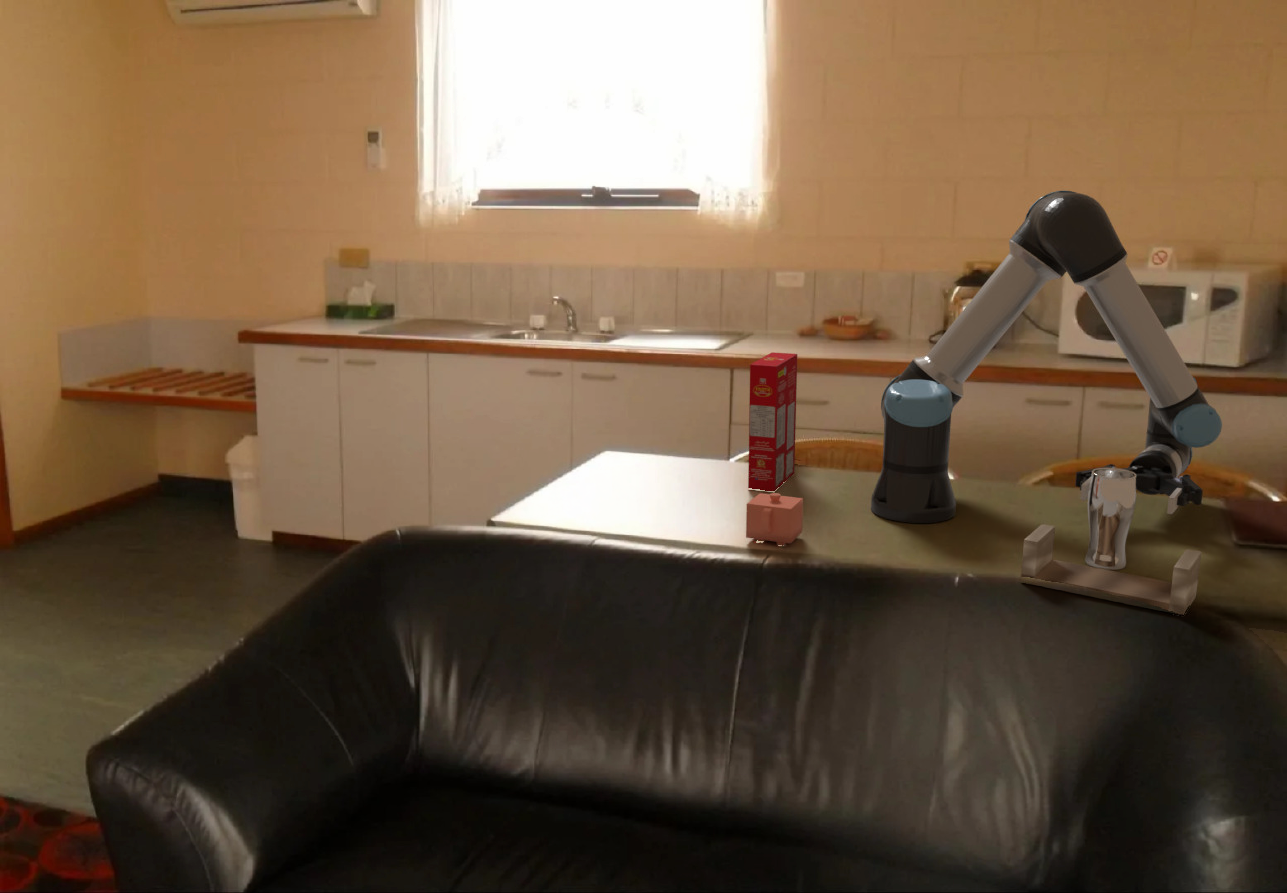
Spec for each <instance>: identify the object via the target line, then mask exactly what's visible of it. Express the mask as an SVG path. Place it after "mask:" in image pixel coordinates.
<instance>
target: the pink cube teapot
mask: <svg viewBox="0 0 1287 893" xmlns="http://www.w3.org/2000/svg"><path fill="white" fill-rule="evenodd" d="M803 511H804V498H803V497H794V496H786V495H781V494H780V493H778V492H775V493H770V494H769V493H763V492H760V493H758V494H757V495H756V496H754V497H753V498H752V499H750V500H749V502H747V503H746V516H745V517H746V519H745V521H746V524H745V525H746V526H745V530H746V531H745V538H747V539H753V540H758V541H764V540H765V541H768V542H775V543H776V545H777V544H778V545H782V546H783V545H787V544H792V543H793V542H794V541H795V540H796V539H797V538H798V536H800V535H801V534H802V533H803V520H804V519H803V514H804V512H803ZM765 541H764V542H765Z"/></svg>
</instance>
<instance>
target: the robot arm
mask: <svg viewBox="0 0 1287 893" xmlns="http://www.w3.org/2000/svg"><path fill="white" fill-rule="evenodd" d="M1008 245H1009V252H1008V254H1007V255H1006V257H1005V258H1004V259H1003V260H1002V261H1001V263H1000V264H999V265H998V266H997V268H996V269H995V270H994V271H993V273H992V274H991V275H990V276H989V277H988V278H987V280H986V282H984V284H983V285H982V286H981V287H980V288H979V290H978V291H977V293H976V294H975V295H974V296H973V297H972V299H971V300H970V302H968V303H967V305H966V306H965V307H964V309H963V310H962V311H961V312H960V313H959V315H958V316H957V317H956V319H955V320H954V321H953V323H951V325H950V326H949V327H948V328H947V330H946V331H945V332H944V334H943V335H942V336H941V337H940V338H939V339H938V341H937V342H936V343H935V345H934V346H933V347H932V348H931V350H930V351H929V352H928V353H927V355H925V356H919V357H914V358H913V359H912V360H911V361H910V363H909V364H908V365H907V367H906V368H905V369H904V370H903V371H902V373H901V374H899V375H898V376H896V377H895V378H893V379H892V380H891V381H890V382H888V384H887V385H886V387H885V389H884V391H883V393H882V395H881V396H882V397H881V403H880V410H881V415H882V418H883V424H884V425H883V445H882V446H883V451H882V468H881V471H880V475H879V477H878V479H877V482H876V484H875V487H874V490H873V493H872V494H871V498H870V499H871V500H870V510H871V512H872V513H873V514H875V515H877V516H879V517H882V518H883V519H887V520H891V521H896V522H902V523H912V524H932V523H939V522H940V523H941V522H945V521H947V520H950V519H953V517H955V516H956V508H957V500H956V498H955V494H954V491H953V487H952V482H951V480H950V474H949V461H950V460H949V458H950V457H949V456H950V442H951V426H952V425H951V424H952V420H951V419H952V412H953V409H954V408H955V406H956V405H957V404H958V403H959V402H960V401H961V399H962V398H963V397H964V383H965V382H966V380H967V379H968V378H969V377H970V376H971V375H972V373H973V372H974V371H975V370H976V369H977V367H978V366H979V364H980V363H982V361H983V360H984V359H985V358H986V356H987V355H988V354H989V353H990V351H991V350H992V349H993V348H994V347H995V345H996V344H997V343H998V342H999V341H1000V339H1001V338H1002V337H1003V336H1004V335H1005V333H1006V332H1007V331H1008V330H1009V329H1010V328H1011V326H1012V325H1013V324H1014V323H1015V321H1016V320H1017V319H1018V318H1019V317H1020V315H1021V314H1022V313H1023V312H1024V310H1025V309H1026V308H1027V307H1028V306H1029V304H1030V303H1031V302H1032V301H1033V299H1034V298H1035V297H1036V296H1037V294H1039V292H1040V291H1042V288H1044V286H1045V285H1046V283H1047V282H1049V281H1052V280H1053V281H1054V280H1059V279H1062V277H1063V276H1064V275H1065V274H1066V273H1067V274H1068V275H1069V277H1070V279H1071V280H1072V282H1073V284H1074V285H1076V286H1081V287H1082V288H1084V290H1085V292H1086V293H1087V295H1088V297H1089V299H1090V300H1091V302H1092V303H1093V305H1094V307H1095V308H1096V310H1097V312H1098V313H1099V316H1101V319H1103V321H1104V323H1105V325H1106V326H1107V328H1108V329H1109V331H1110V333H1111V335H1112V336H1113V338H1114V339H1115V342H1116V343H1117V345H1118V346H1119V348H1120V350H1121V351H1122V353H1123V355H1124V357H1125V358H1126V360H1127V361H1128V364H1129V365H1130V366H1131V368H1132V370H1133V371H1134V374H1136V377H1137V378H1138V379H1139V381H1140V383H1141V385H1142V387H1143V389H1144V390H1145V391H1146V393H1147V394H1148V396H1149V405H1148V416H1147V417H1148V418H1147V428H1146V436H1145V444H1144V445H1145V448H1144V450H1143V451H1141V452H1140V453H1139V454H1138V455H1137V456H1136V457H1135V458H1133V460H1132V461H1131V462H1130V463H1129V466H1128V467H1124V468H1120V469H1124V470H1128V471H1132V472H1134V473H1135V474H1136V475H1137V480H1136V491H1137V492H1139V493H1141V494H1145V495H1149V496H1154V495H1166V496H1167V497H1168V501H1167V509H1166V510H1167V511H1166V514H1168V515H1173V513H1174V512H1175V511H1177V509H1178V508H1179V506H1181V507H1185V506H1186V505H1188V504H1190V502H1191V503H1192V504H1194V505H1196V506H1201V505H1202V502H1203V493H1204V490H1203V488H1201V487H1200V486H1199V485H1198V484H1197V483H1196V482H1195V481H1194V480H1192V479H1191V475H1190V474H1183V473H1185V471H1187V469H1188V467H1189V466H1190V465H1191V462H1192V459H1193V455H1194V454H1193V448H1197V449H1198V448H1199V449H1200V448H1203V447H1208V446H1210V445H1212V443H1214V442H1215V441H1216V440H1217V439H1218V438H1219V436H1220V435H1221V432H1222V428H1223V421H1222V419H1221V417H1220V415H1219V413H1218V412H1217V410H1216V409H1215V408H1214V407H1212V405H1210V404H1209V402H1208V401H1207V399H1206V397H1205V396H1204V394H1203V392H1202V390H1200V388H1199V386H1198V383H1197V379H1196V378H1195V377H1193V375H1192V374H1191V372H1190V370H1189V369H1188V367H1187V364H1186V363H1185V362H1184V360H1183V358H1182V357H1181V355H1180V353H1179V352H1178V350H1177V348H1176V347H1175V345H1174V343H1173V341H1172V340H1171V337H1170V336H1169V335H1168V333H1167V331H1166V330H1165V328H1164V326H1163V325H1162V322H1161V320H1160V319H1159V317H1158V316H1157V314H1156V313H1155V310H1154V309H1153V308H1152V305H1151V304H1150V302H1149V300H1148V299H1147V297H1146V296H1145V294H1144V292H1143V291H1142V288H1141V287H1140V286H1139V284H1138V282H1137V280H1136V279H1135V277H1134V275H1133V274H1132V272H1131V271H1130V269H1129V267H1128V265H1127V264H1126V263H1127V262H1126V261H1127V259H1128V258H1127V257H1128V254H1129V253H1128V251H1126V249H1125V247H1124V246H1123V243H1122V242H1121V240H1120V238H1119V236H1118V233H1117V232H1116V230H1115V228H1114V226H1113V224H1112V221H1111V220H1110V217H1109V215H1108V214H1107V211H1106V210H1105V209H1104V207H1103V206H1102V205H1101V203H1100V202H1099V201H1098V200H1096V199H1095V198H1093V197H1092V196H1090V195H1088V194H1084V193H1080V192H1076V191H1071V190H1057V191H1052V192H1049V193H1047V194H1044V195H1043V196H1041V197H1040V198H1039V199H1037V200H1036V201H1035V202H1033V204H1031V206H1030V208H1029V209H1028V210H1027V213H1026V214H1025V218H1024V221H1023V222H1022V223H1021V225H1020V226H1019V227H1018V229H1017V230H1016V231H1015V233H1013V235H1012V236H1011V238H1009V240H1008ZM1097 468H1098V467H1096V468H1090V469H1086V470H1082V471H1076V473H1075V484H1074V485H1075V487H1076V488H1079V491H1080V501H1083V502H1084V501H1086V500H1088V493H1089V486H1090V481H1091V476H1092V471H1093V470H1094V469H1097ZM1099 468H1117V467H1116V465H1115V464H1113V463H1110V464H1107V465H1104V466H1101V467H1099ZM1181 474H1183V475H1181ZM1180 475H1181V476H1180Z"/></svg>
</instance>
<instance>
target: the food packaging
mask: <svg viewBox="0 0 1287 893" xmlns="http://www.w3.org/2000/svg"><path fill="white" fill-rule="evenodd" d="M797 378H798V353H788V352H787V353H786V352H770V353H768V354H767V355H765V356H763V357H761V358H759V359H758V360H756V361H754V362H752V363H750V364H749V403H748V404H749V405H748V406H749V414H748V416H749V419H748V420H749V423H748V476H747V477H748V482H747V483H748V486H747V488H752V489H760V490H765V491H775V490H776V489H777V488H778V487H780V486H781V485H782V484H783V482H785V481H786V480H787V479H788V478H789V477H791V476H792V475H793V474H794V475H795V465H796V463H795V462H796V431H797V430H796V425H797V424H796V423H797V421H796V420H797V391H798V390H797V389H798V388H797V384H798V383H797V382H798V381H797V380H798V379H797ZM794 475H793V476H794ZM793 476H792V477H793ZM792 477H791V478H792ZM787 481H788V480H787ZM787 481H786V482H787ZM786 482H785V483H786ZM783 485H784V484H783ZM783 485H782V486H783ZM782 486H781V487H782ZM781 487H780V488H781Z"/></svg>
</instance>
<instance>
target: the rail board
mask: <svg viewBox="0 0 1287 893" xmlns="http://www.w3.org/2000/svg"><path fill="white" fill-rule="evenodd" d="M1055 528H1056V526H1054V525H1050V524H1044V523H1043V524H1042V523H1041V524H1040V525H1039V526H1038V527H1037V528H1035V530H1033V531H1032V532H1031V533H1030V534H1028V535H1027V536H1026V538H1024V539H1023V549H1022V550H1023V551H1022V562H1021V573H1020V576H1021V577H1030V578H1035V579H1041V580H1045V581H1051V582H1059V583H1065V584H1069V585H1073V586H1078V587H1086V588H1087V589H1092V590H1093V589H1094V590H1096V591H1100V592H1105V593H1109V594H1112V595H1116V596H1124V597H1127V598H1128V597H1129V598H1131V599H1132V598H1133V599H1135V600H1138V601H1139V600H1140V601H1144V602H1146V603H1148V604H1150V605H1152V606H1153V605H1154V606H1157V607H1158V606H1159V607H1161V608H1162V609H1166V610H1168V611H1173V612H1175V613H1178V614H1183V615H1184V613H1185V611H1186V609H1187V607H1188V606H1189V605H1190V606H1192V604H1193V602H1194V601H1195V600H1196V597H1197V591H1198V583H1199V575H1200V566H1201V558H1202V551H1199V550H1193V549H1187V548H1186V549H1185V551H1184V552H1183V553H1182V555H1181V557H1179V559H1178V560H1177V562H1176V563H1175V565H1174V566H1173V571H1172V577H1171V578H1172V581H1168V580H1162V579H1157V578H1151V577H1146V576H1141V575H1136V574H1131V573H1127V572H1126V573H1125V572H1120V571H1116V570H1106V569H1099V568H1095V567H1092V566H1090V565H1082V564H1077V563H1073V562H1068V561H1061V560H1058V559H1053V552H1054V540H1055ZM1021 577H1020V578H1021ZM1185 614H1186V613H1185ZM1184 616H1185V615H1184Z"/></svg>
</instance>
